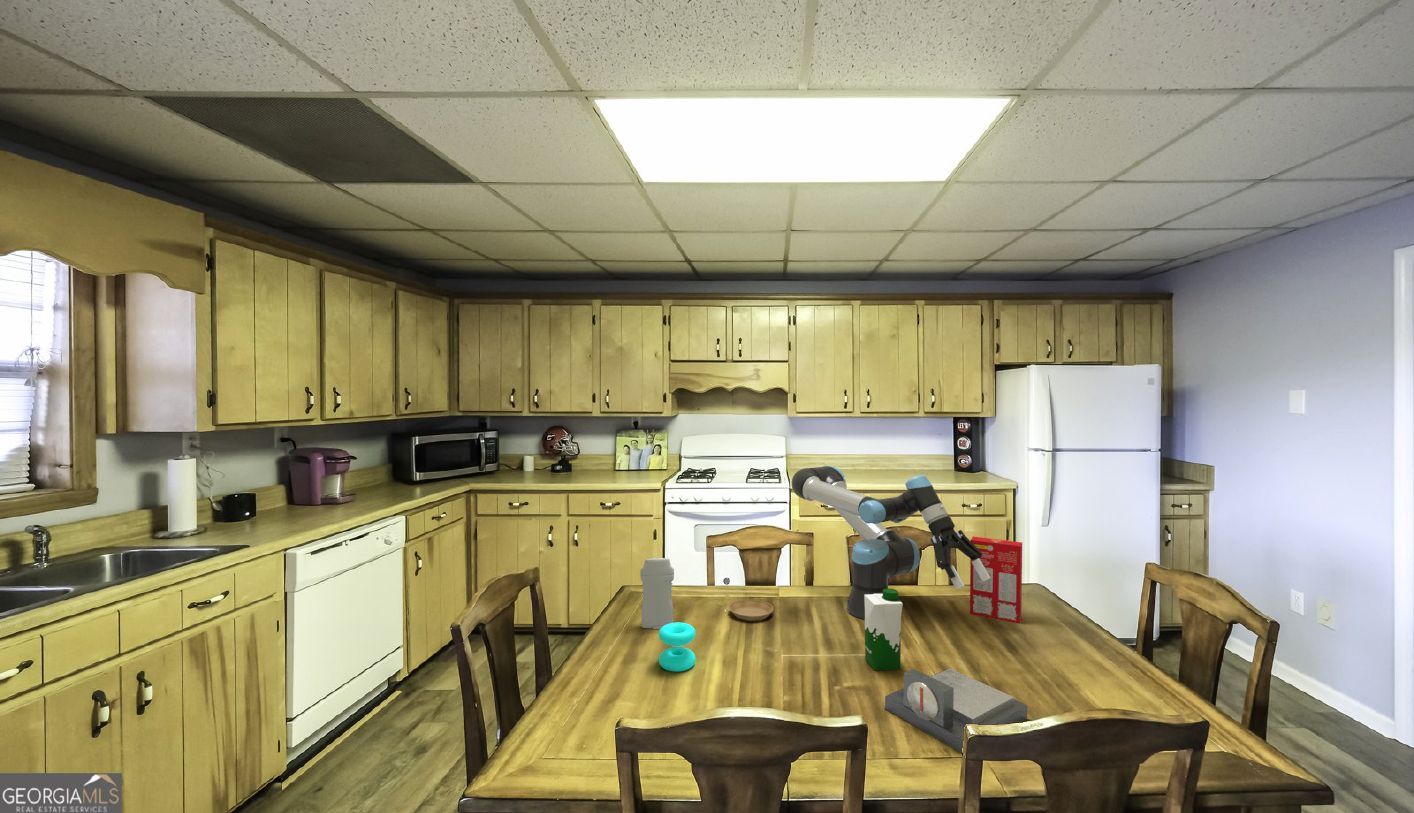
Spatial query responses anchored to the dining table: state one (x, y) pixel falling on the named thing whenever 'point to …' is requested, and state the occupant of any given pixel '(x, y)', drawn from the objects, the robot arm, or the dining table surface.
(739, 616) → the plant saucer
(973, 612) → the food packaging
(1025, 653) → the dining table surface
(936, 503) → the robot arm
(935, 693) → the scale
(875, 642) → the soya milk
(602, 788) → the dining table surface
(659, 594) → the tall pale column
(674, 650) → the donuts
